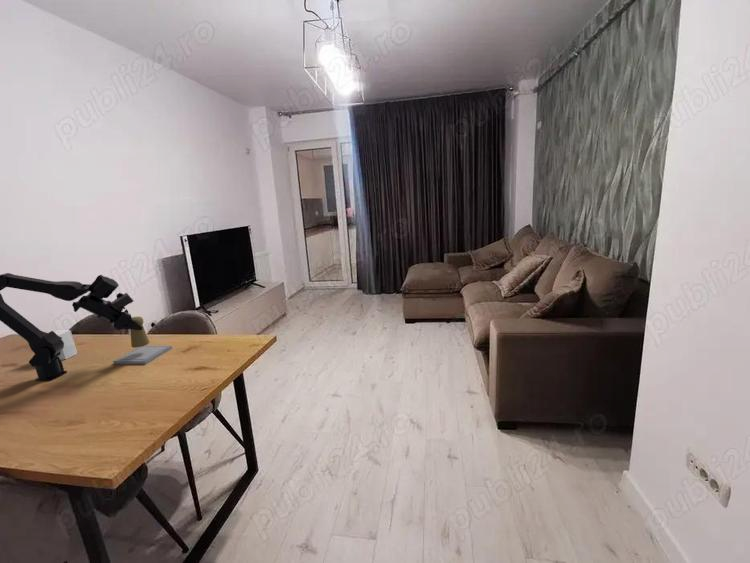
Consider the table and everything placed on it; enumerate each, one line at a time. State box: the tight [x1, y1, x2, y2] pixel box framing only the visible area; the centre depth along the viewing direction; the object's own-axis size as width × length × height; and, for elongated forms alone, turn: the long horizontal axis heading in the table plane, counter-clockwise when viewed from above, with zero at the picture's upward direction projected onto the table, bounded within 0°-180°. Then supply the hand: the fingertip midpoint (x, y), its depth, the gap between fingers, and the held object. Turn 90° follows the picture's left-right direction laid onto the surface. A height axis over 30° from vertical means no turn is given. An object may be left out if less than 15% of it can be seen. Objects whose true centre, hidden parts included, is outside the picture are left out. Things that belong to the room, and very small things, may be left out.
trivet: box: [112, 345, 173, 365], centre depth 143 cm, size 14×14×1 cm
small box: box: [52, 330, 78, 361], centre depth 148 cm, size 8×6×10 cm
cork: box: [129, 316, 150, 349], centre depth 141 cm, size 6×6×11 cm
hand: (141, 327), depth 142 cm, fingers closed on cork, 5 cm apart
